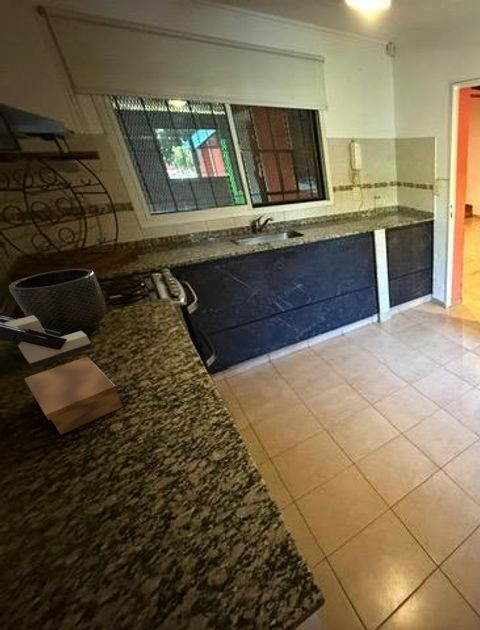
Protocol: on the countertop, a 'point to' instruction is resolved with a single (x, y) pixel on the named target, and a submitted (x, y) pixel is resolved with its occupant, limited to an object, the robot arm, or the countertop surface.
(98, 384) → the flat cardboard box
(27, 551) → the countertop surface
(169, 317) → the countertop surface
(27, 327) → the black-striped white block
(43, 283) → the planter
